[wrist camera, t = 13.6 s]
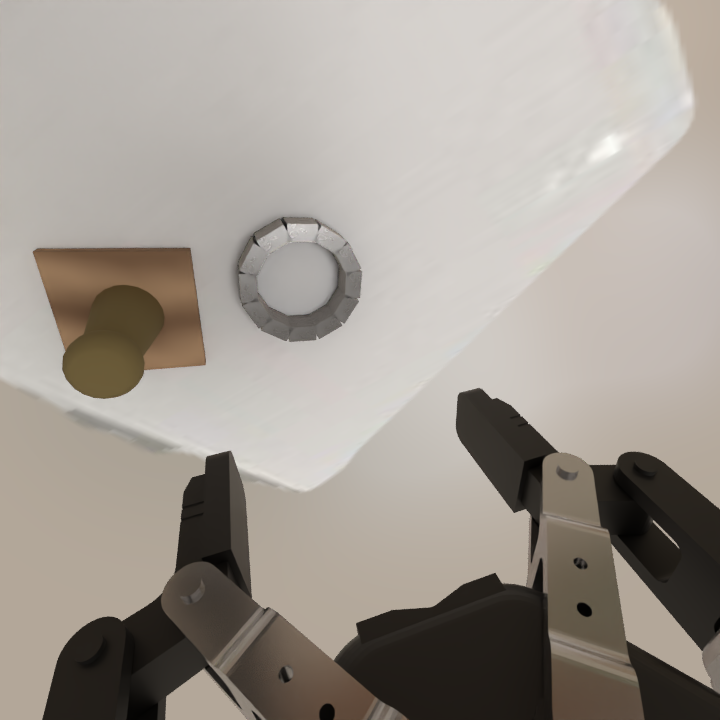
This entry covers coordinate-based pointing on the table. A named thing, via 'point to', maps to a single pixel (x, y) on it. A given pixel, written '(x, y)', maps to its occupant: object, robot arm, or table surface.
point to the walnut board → (135, 268)
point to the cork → (114, 342)
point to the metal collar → (321, 318)
